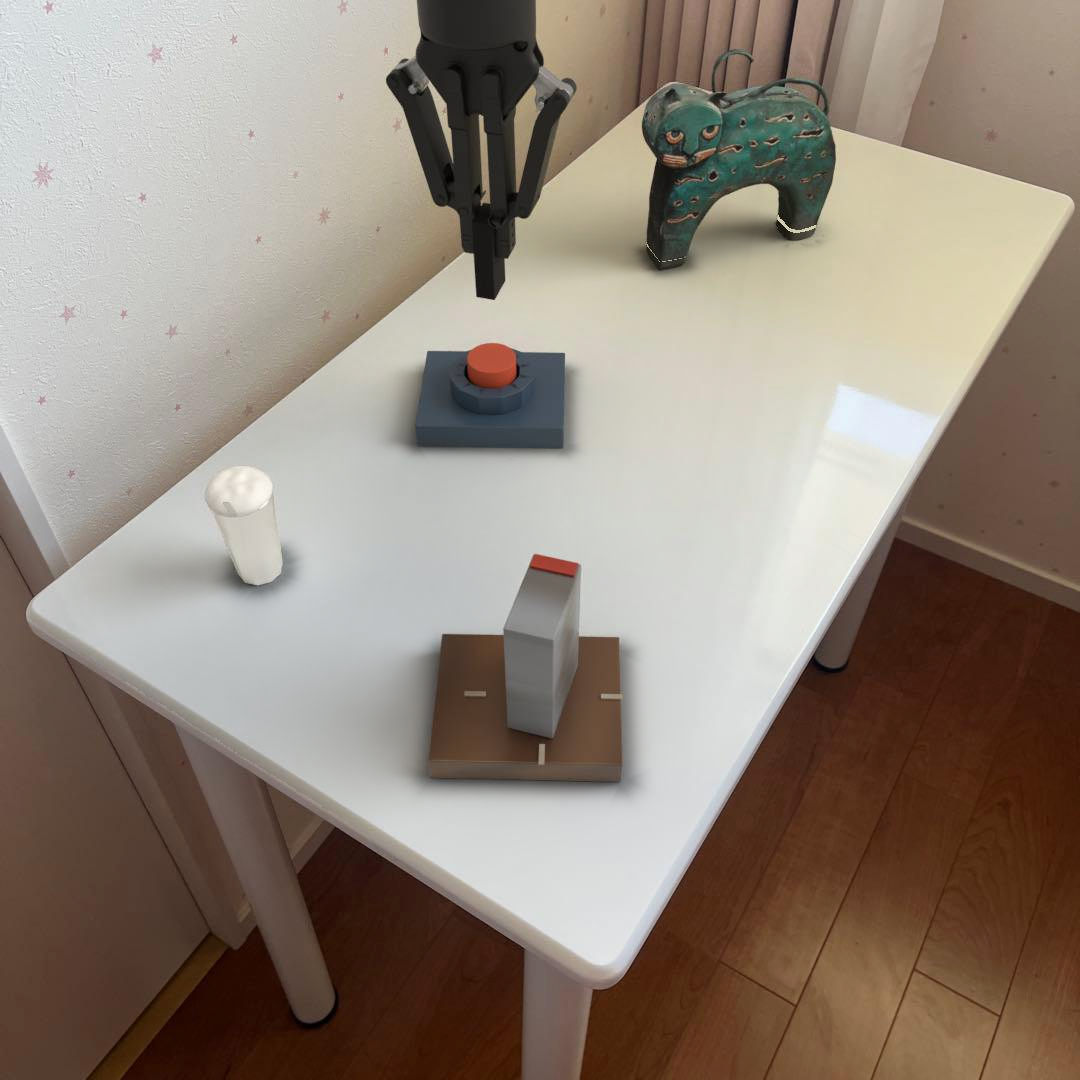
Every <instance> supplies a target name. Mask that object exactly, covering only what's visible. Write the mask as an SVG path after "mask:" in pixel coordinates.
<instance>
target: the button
mask: <svg viewBox="0 0 1080 1080" xmlns="http://www.w3.org/2000/svg"><path fill="white" fill-rule="evenodd" d="M511 348H512V347H510V346H508V345H505V344H503V343H498V342H486V343H482V344H479V345H477V346H475V347H473V348H471V349H470V350H471V351H470V352H469V354H468V356H467V366H468V378H469V380H470V381H471V382H472V383H473V384H474V385H476V386H478V387H481V388H491V389H498V388H501V387H504V386H507V385H510V384H511V383H512V382H513V381H514V380H515V378H516V355H515V353H514V351H513V350H512V349H513V348H512V349H511Z"/></svg>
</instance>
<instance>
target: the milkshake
mask: <svg viewBox="0 0 1080 1080" xmlns="http://www.w3.org/2000/svg"><path fill="white" fill-rule="evenodd" d="M273 488H274V485H273V482H272V479H271V478H270V476H269V474H267V473H266V472H264V471H263V470H260V469H258V468H256V467H253V466H251V465H235V466H230V467H228V468H226V469H224V470H221V471H220V472H217V473H216V474H215V475H213V476H212V477H211V478H210V480H209V481H208V483H207V485H206V487H205V490H204V494H203V495H204V501H205V503H206V506H207V507H208V509H209V511H210V514H211V515H212V518H213V520H214V522H215V524H216V527H217V528H218V531H219V533H220V536H221V538H222V540H223V543H224V545H225V547H226V549H227V551H228V554H229V557H230V559H231V561H232V563H233V566H234V568H235V571H236V573H237V575H238V576H239V577H240V578H241V580H242V581H243V582H244V583H245V584H250V585H253V586H262V585H265V584H270V583H272V582H273V581H275V579H276V578H278V577H279V576H280V575H281V574H282V569H283V563H284V561H283V555H282V548H281V541H280V535H279V529H278V521H277V516H276V507H275V498H274V497H275V496H274V489H273Z"/></svg>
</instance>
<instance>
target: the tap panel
mask: <svg viewBox="0 0 1080 1080" xmlns="http://www.w3.org/2000/svg"><path fill="white" fill-rule="evenodd" d="M620 647H621V646H620V637H618V636H584V635H583V636H582V635H581V636H580V635H579V645H578V666H577V669H576V672H575V675H574V678H573V681H572V684H571V687H570V690H569V693H568V696H567V699H566V701H565V704H564V707H563V710H562V713H561V716H560V719H559V722H558V725H557V728H556V731H555V734H554V737H553V738H548V737H544V736H540V735H536V734H532V733H528V732H524V731H520V730H516V729H512V728H508V725H507V702H506V679H505V657H504V634H479V633H478V634H477V633H475V634H474V633H442V634H441V641H440V648H439V658H438V665H437V666H438V668H437V676H436V686H435V694H434V704H433V712H432V721H431V730H430V738H429V748H428V757H427V763H428V770H429V777H430V778H433V779H477V780H478V779H479V780H480V779H481V780H521V781H523V780H524V781H566V782H567V781H570V782H612V783H613V782H616V783H617V782H618V783H621V782H622V778H623V767H624V758H623V757H624V756H623V725H622V723H623V721H622V701H623V700H624V696H623V695H624V694H623V693H622V689H621V688H622V687H621V686H622V685H621V684H622V683H621V653H620V651H621V650H620Z"/></svg>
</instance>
